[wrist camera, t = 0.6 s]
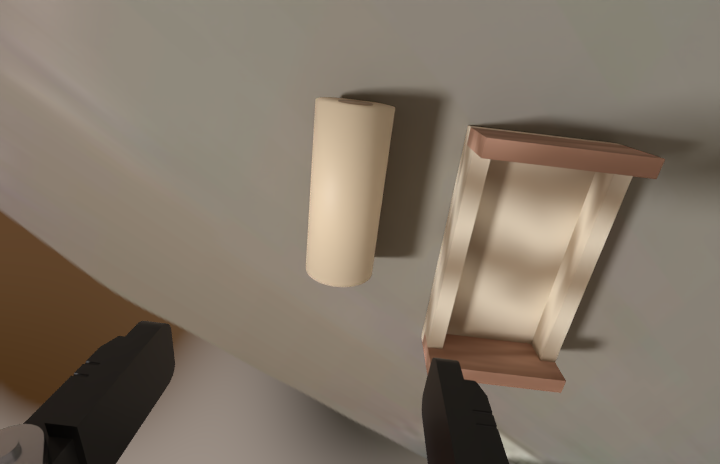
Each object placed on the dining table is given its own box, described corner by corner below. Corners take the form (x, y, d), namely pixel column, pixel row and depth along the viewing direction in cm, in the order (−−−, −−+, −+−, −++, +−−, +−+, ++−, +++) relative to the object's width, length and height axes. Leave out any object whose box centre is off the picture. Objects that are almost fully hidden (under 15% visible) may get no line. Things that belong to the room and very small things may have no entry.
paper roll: (321, 94, 26) (309, 100, 21) (393, 103, 26) (397, 111, 21) (311, 250, 31) (300, 283, 26) (372, 257, 31) (371, 291, 26)
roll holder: (468, 125, 26) (486, 137, 22) (617, 143, 26) (665, 159, 22) (421, 336, 33) (427, 376, 29) (537, 349, 34) (560, 392, 29)
